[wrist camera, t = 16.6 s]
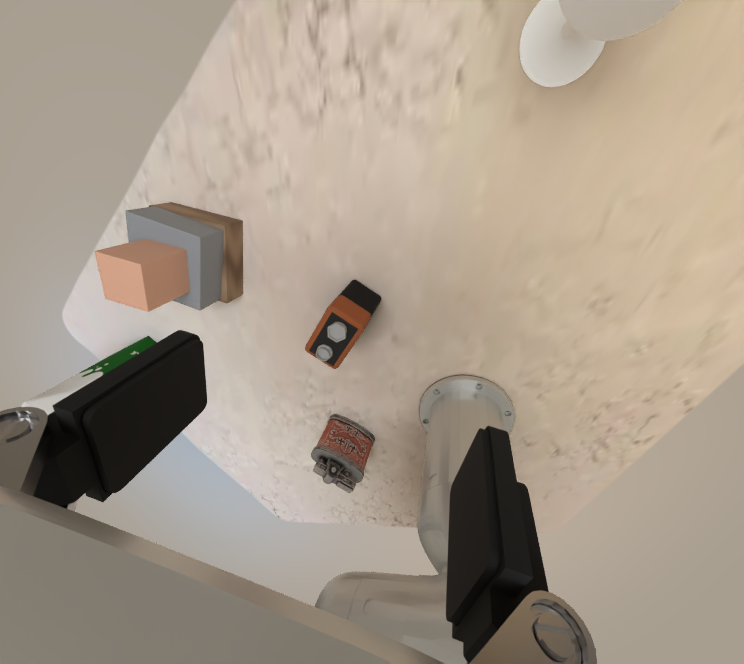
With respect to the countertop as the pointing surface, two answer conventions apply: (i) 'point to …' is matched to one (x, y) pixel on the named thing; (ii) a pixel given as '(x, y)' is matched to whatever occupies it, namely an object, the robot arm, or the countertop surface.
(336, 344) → the battery
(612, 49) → the countertop surface
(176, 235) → the tower top
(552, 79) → the champagne flute
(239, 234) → the tower base
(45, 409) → the milk carton
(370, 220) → the countertop surface
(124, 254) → the pillar block
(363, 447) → the lighter
